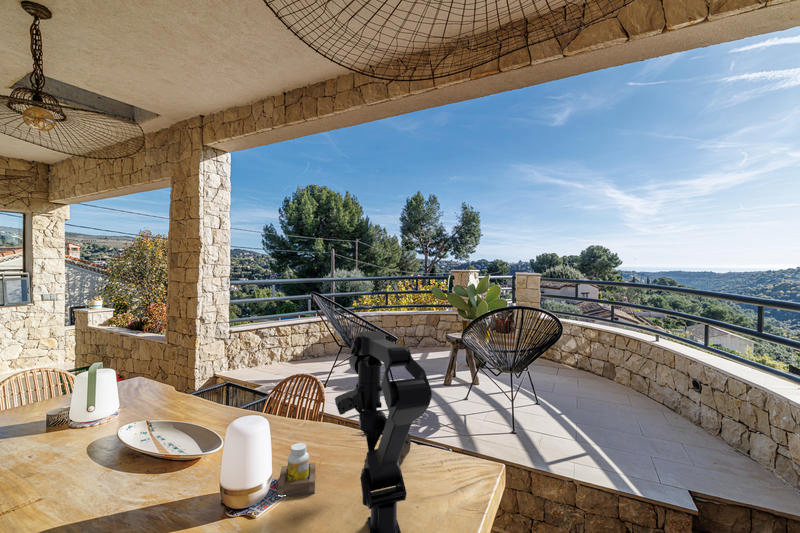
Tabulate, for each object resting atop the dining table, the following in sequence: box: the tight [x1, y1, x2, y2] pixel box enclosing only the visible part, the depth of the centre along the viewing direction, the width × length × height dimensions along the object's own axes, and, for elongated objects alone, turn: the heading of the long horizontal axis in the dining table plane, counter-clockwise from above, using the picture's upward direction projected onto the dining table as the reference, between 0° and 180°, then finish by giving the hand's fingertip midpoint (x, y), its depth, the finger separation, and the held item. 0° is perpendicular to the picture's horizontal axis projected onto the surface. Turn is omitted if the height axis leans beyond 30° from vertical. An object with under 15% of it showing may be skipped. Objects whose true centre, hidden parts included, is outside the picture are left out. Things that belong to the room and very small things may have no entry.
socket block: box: [276, 462, 316, 498], centre depth 91 cm, size 9×9×3 cm
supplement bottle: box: [287, 442, 310, 481], centre depth 91 cm, size 5×5×10 cm
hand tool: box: [398, 433, 412, 466], centre depth 105 cm, size 19×4×5 cm, turn 160°
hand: (368, 443), depth 87 cm, fingers open, 9 cm apart
